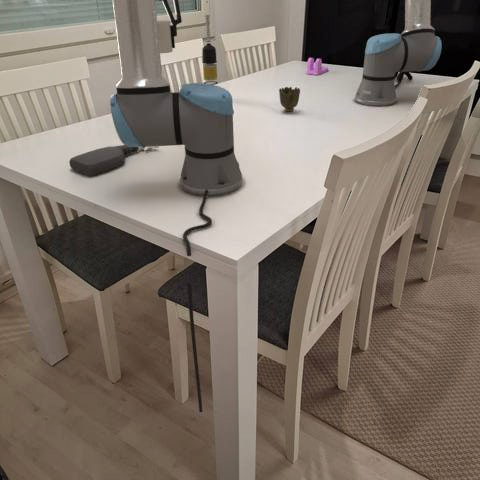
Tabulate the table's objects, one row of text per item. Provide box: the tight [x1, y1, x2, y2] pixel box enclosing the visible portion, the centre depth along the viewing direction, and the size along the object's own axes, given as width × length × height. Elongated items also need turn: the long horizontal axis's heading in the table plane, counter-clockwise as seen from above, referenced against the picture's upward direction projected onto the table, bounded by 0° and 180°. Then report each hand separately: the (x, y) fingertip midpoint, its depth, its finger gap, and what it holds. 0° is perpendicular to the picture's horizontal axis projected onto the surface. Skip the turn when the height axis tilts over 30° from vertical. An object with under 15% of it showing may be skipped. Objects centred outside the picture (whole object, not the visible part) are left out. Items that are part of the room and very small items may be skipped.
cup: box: [278, 86, 301, 114], centre depth 159 cm, size 8×7×8 cm
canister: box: [157, 20, 174, 54], centre depth 143 cm, size 7×7×9 cm
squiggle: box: [394, 71, 414, 83], centre depth 198 cm, size 11×10×15 cm
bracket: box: [306, 57, 329, 76], centre depth 216 cm, size 13×6×7 cm, turn 143°
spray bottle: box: [68, 144, 160, 177], centre depth 124 cm, size 3×11×24 cm
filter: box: [201, 14, 219, 85], centre depth 171 cm, size 6×6×30 cm
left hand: (161, 48), depth 145 cm, fingers closed on canister, 7 cm apart
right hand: (479, 11), depth 128 cm, fingers open, 13 cm apart
